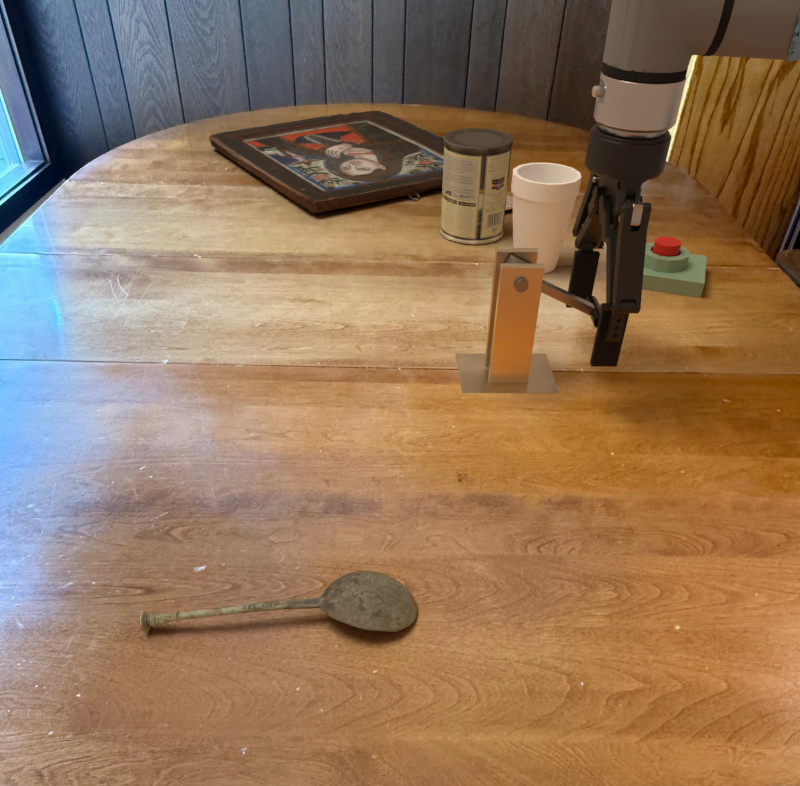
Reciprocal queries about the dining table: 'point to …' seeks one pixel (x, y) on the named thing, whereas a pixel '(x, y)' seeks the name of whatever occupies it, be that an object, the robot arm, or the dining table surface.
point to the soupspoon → (329, 604)
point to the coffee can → (475, 185)
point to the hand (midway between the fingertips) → (589, 334)
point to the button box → (674, 273)
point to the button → (666, 246)
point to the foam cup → (543, 208)
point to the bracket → (510, 333)
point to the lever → (567, 296)
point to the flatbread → (509, 203)
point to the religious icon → (339, 158)
